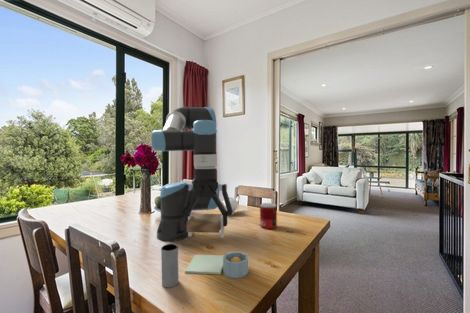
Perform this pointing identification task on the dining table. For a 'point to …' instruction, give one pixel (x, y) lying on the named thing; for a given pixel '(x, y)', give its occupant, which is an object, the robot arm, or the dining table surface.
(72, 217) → the dining table surface
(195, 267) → the mat
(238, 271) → the bowl
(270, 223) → the canned food
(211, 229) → the cover
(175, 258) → the grey cylinder
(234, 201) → the teapot
